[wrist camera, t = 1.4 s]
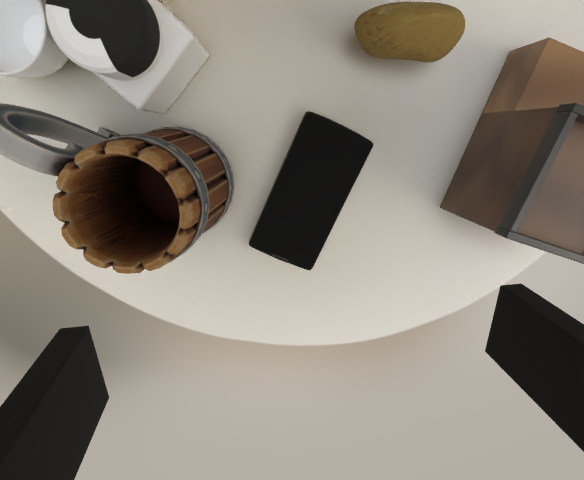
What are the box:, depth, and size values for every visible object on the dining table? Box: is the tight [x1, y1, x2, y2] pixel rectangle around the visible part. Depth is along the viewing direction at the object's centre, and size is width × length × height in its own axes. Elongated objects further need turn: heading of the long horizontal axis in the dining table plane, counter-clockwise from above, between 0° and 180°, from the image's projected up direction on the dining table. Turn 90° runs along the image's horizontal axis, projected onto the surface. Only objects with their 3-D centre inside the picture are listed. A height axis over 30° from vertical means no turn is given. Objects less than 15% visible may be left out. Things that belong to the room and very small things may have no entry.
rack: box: [440, 38, 584, 264], centre depth 31 cm, size 16×10×12 cm, turn 162°
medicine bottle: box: [45, 0, 209, 114], centre depth 26 cm, size 7×7×12 cm
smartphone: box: [249, 111, 373, 270], centre depth 36 cm, size 7×1×15 cm
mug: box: [0, 104, 234, 274], centre depth 28 cm, size 16×11×15 cm
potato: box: [355, 2, 465, 62], centre depth 29 cm, size 7×8×8 cm
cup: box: [0, 0, 69, 79], centre depth 28 cm, size 8×10×7 cm
